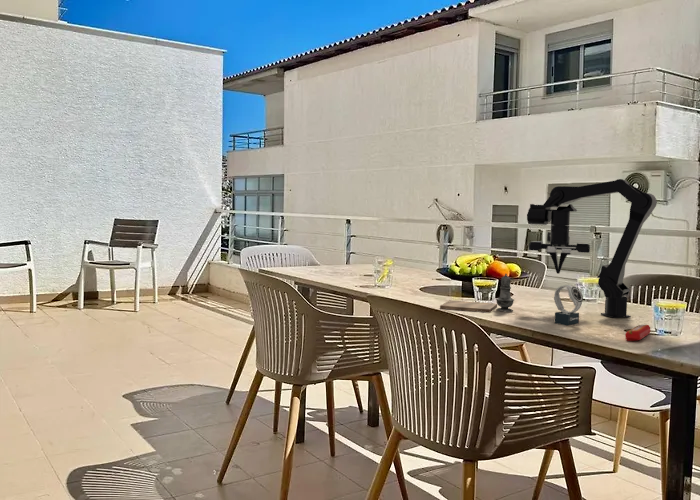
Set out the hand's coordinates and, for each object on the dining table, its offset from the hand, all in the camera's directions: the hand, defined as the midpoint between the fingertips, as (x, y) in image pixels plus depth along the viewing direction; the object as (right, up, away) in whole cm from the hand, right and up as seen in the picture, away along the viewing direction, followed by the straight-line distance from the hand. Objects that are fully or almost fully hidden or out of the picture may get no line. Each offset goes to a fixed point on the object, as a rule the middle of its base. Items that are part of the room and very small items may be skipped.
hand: (558, 273), depth 216 cm
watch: (-5, -14, -25) cm, 29 cm away
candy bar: (+7, -16, -44) cm, 47 cm away
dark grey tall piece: (-18, -12, -3) cm, 22 cm away
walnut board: (-29, -11, +2) cm, 31 cm away
